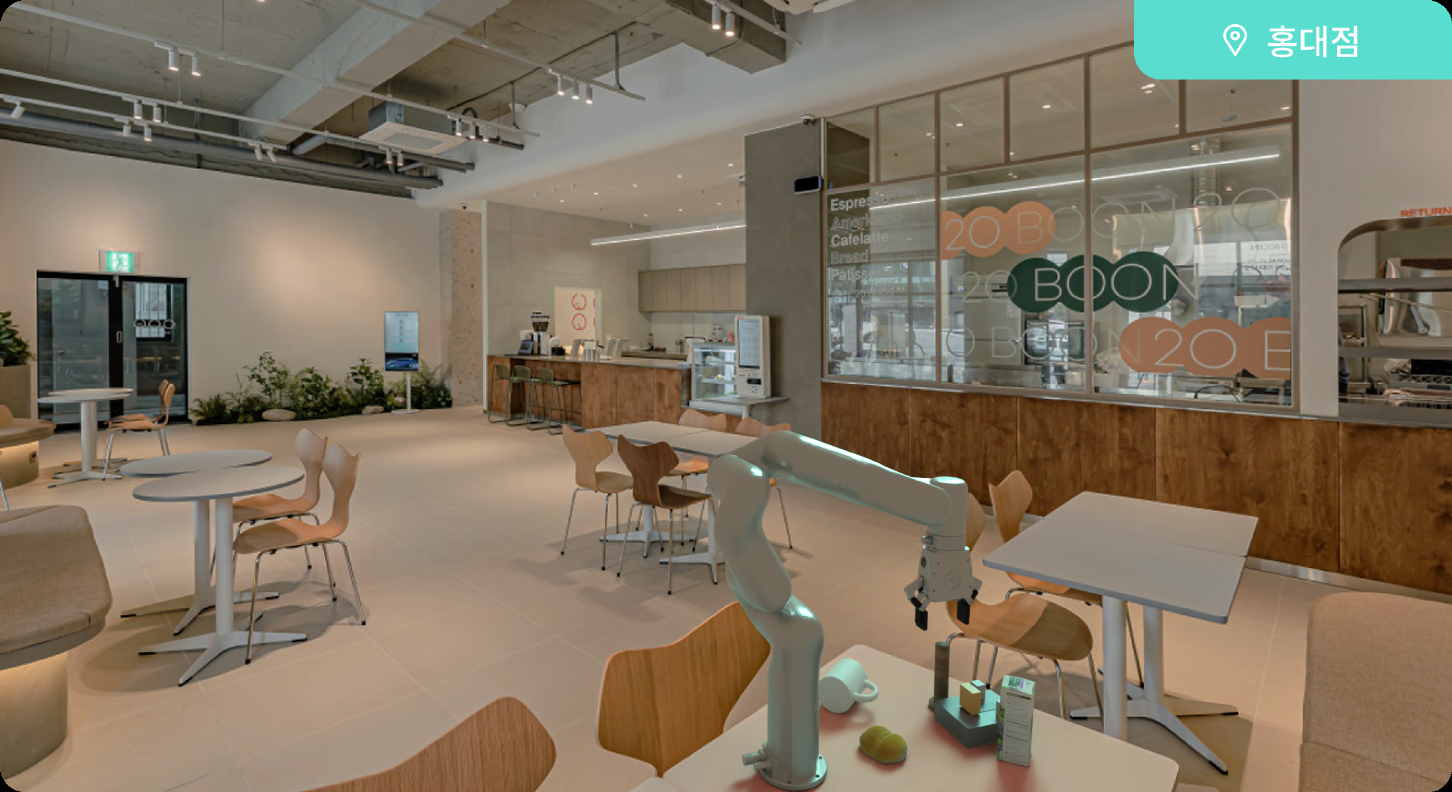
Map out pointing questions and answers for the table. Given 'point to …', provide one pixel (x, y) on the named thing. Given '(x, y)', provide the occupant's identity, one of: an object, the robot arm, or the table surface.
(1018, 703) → the syrup box
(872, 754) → the bread roll
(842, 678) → the mug
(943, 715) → the switch box
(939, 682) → the post
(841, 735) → the table surface
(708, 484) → the robot arm
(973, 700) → the block
